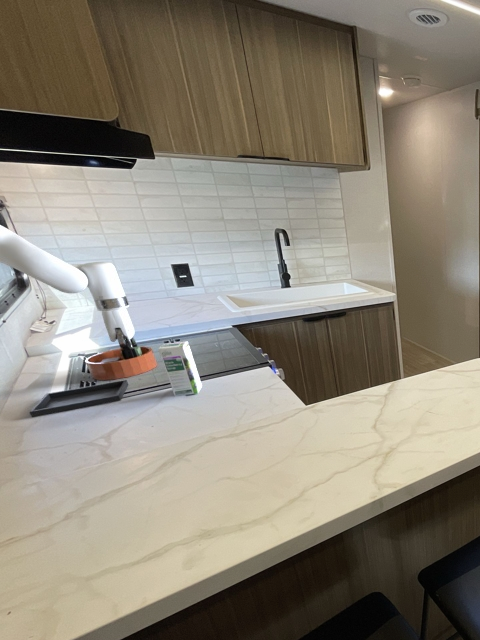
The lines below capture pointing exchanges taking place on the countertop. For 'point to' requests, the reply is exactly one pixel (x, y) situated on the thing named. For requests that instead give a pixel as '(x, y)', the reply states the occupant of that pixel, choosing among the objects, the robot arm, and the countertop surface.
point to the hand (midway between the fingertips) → (133, 358)
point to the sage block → (136, 352)
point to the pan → (79, 398)
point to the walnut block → (111, 360)
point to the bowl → (120, 364)
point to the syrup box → (180, 368)
